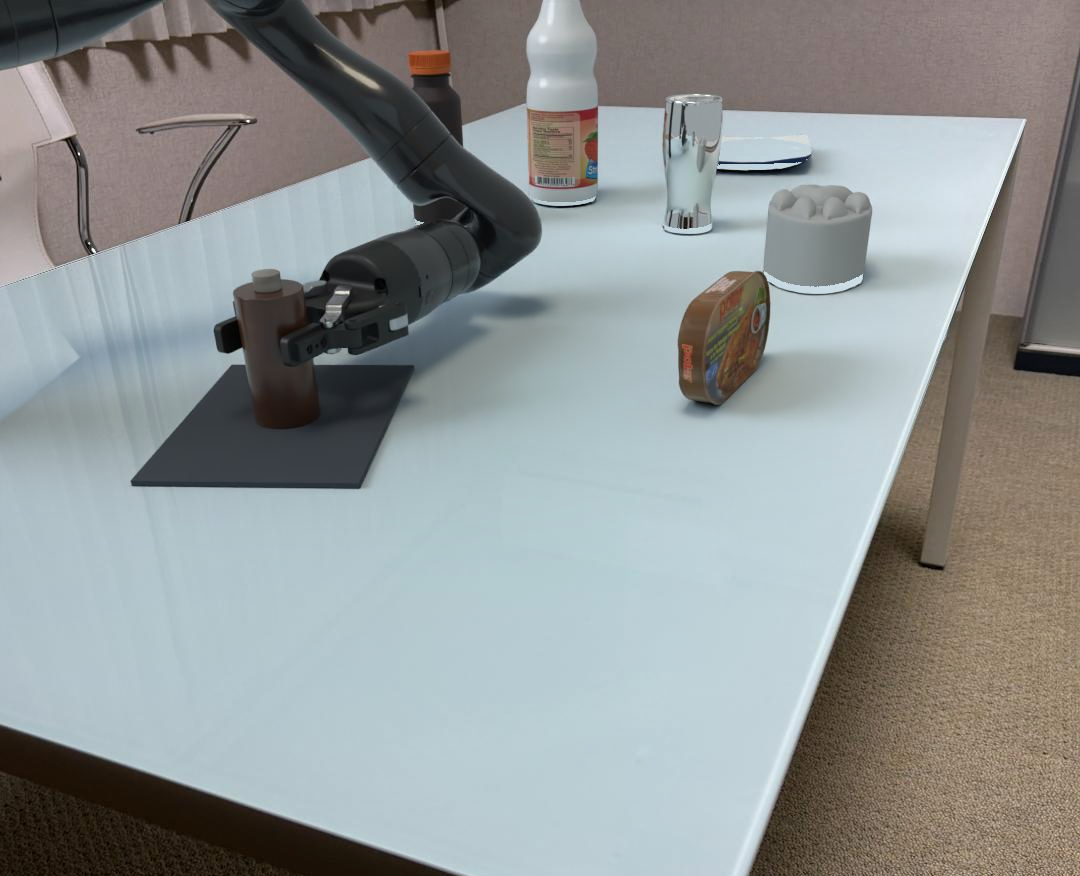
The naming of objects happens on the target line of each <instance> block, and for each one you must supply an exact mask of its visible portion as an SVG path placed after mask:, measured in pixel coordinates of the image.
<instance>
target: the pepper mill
mask: <svg viewBox="0 0 1080 876" xmlns="http://www.w3.org/2000/svg"><path fill="white" fill-rule="evenodd" d="M281 277H282V276H281V271H280V270H278V269H276V268H264V269H258V270H255V271H253V272H252V273H251V280H252V281H250V282H246V283H244V284H241V285H239V286H237V287H236V288H234V289H233V291H232V296H233V297H232V298H233V301H234V303H235V308H236V314H237V320H238V325H239V331H240V337H241V342H242V348H241V349H242V354H243V359H244V365H246V371H247V377H248V382H249V388H250V394H251V400H252V405H253V411H254V417H255V421H256V422H257V424H259V425H260V426H263V427H266V428H271V429H289V428H295V427H300V426H303V425H306V424H309V423H311V422H313V421H315V420H316V419H317V418H318V417H319V416H320V414H321V410H320V403H319V396H318V389H317V382H316V375H315V367H314V365H315V361H314V358H313V359H311V360H309V361H307V362H305V363H303V364H301V365H299V366H297V367H290V366H285V365H284V363H283V359H282V353H281V346H280V341H281V339H282V337H284V336H286V335H288V334H290V333H292V332H294V331H296V330H298V329H301V328H303V327H305V326H307V325H308V317H307V310H306V303H305V296H304V289H303V285H304V284H302V283H301V282H299V281H297V280H293V279H287V278H285V279H284V278H281Z"/></svg>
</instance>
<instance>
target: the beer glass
mask: <svg viewBox="0 0 1080 876" xmlns="http://www.w3.org/2000/svg"><path fill="white" fill-rule="evenodd" d="M664 104H665V105H664V113H663V123H662V136H661V137H662V139H661V140H662V141H661V142H662V143H661V144H662V160H663V168H664V169H663V170H664V176H665V183H666V208H665V214H664V217H663V222H662V225H663V224H664V225H666V226H668V227H672V228H678V229H679V228H680V229H682V228H683V229H689V228H698V227H704V226H707V225H709V224H711V223H713V217H712V196H713V195H712V194H713V188H714V184H715V180H716V174H717V172H718V171H717V166H718V162H719V156H720V151H721V143H722V136H723V123H724V121H723V120H724V119H723V118H724V117H723V116H724V115H723V97H722V96H720V95H716V94H708V93H706V94H705V93H682V94H675V95H674V94H673V95H669V96H666V98H665V103H664Z"/></svg>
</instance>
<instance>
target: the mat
mask: <svg viewBox="0 0 1080 876" xmlns="http://www.w3.org/2000/svg"><path fill="white" fill-rule="evenodd" d="M314 367H315V375H316V382H317V389H318V396H319V403H320V410H321V414H320V416H319V417H318V418H317V419H316V420H315V421H313V422H311V423H309V424H306V425H303V426H300V427H295V428H289V429H271V428H266V427H263V426H260V425H259V424H257V422H256V421H255V417H254V411H253V405H252V400H251V394H250V388H249V382H248V377H247V371H246V365H245V364H231V365H230V366H229V367H228V368H227V369H226V370H225V371H224V373H222V375H221V377H219V379H218V380H216V382H215V383H214V384H213V385H212V387H210V389H209V390H208V391H207V392H206V393H205V394H204V395H203V397H202V398H201V399H200V400H199V401H198V402H197V404H196V405H195V406H194V407H193V408H192V410H191V411H190V412H189V413H188V414H187V415H186V416H185V418H184V419H182V421H181V422H180V423H179V424H178V425H177V427H176V428H175V429H174V430H173V431H172V432H171V434H170V435H169V436H168V437H167V438H166V439H165V440H164V442H163V443H162V444H161V445H160V446H159V447H158V448H157V449H156V450H155V452H154V453H153V454H152V455H151V456H150V457H149V459H148V460H147V461H146V462H145V463H144V465H143V466H142V467H141V468H140V469H139V470H138V471H137V472H136V473H135V475H134V476H133V477H132V478H131V479H130V485H131V486H132V487H133V486H137V487H139V486H140V487H141V486H142V487H143V486H145V487H146V486H147V487H221V488H222V487H231V488H233V487H234V488H235V487H236V488H240V487H243V488H317V489H319V488H320V489H321V488H323V489H325V488H328V489H329V488H330V489H333V488H334V489H336V488H337V489H360V488H361V486H362V484H363V482H364V479H365V477H366V475H367V473H368V471H369V468H370V466H371V464H372V462H373V459H374V457H375V455H376V453H377V451H378V450H379V446H380V444H381V442H382V441H383V438H384V435H386V434H385V433H386V431H387V429H388V427H389V426H390V422H391V421H392V418H393V416H394V414H395V412H396V409H397V408H398V405H399V403H400V400H401V399H402V396H403V395H404V392H405V389H406V387H407V385H408V383H409V381H410V379H411V376H412V374H413V372H414V370H415V365H414V364H314Z"/></svg>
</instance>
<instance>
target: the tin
mask: <svg viewBox="0 0 1080 876" xmlns="http://www.w3.org/2000/svg"><path fill="white" fill-rule="evenodd" d="M771 304H772V303H771V290H770V284H769V283H768V281H767V278H766V276H765V275H764V273H763V271H761V270H754V271H745V270H744V271H742V270H732V271H728V272H727V273H725V274H724V275H723V276H722V277H720V278H719V279H718V280H716V281H715V282H713V283H712V284H711V285H710V286H709V287H707V288H706V289H705V290H704V291H702V292H700V293H699V295H697V296H696V297H694V298H693V299H692V300H691V301H690V302H689V304H688V306H687V307H686V309H685V310H684V311H685V312H684V313H683V316H682V319H681V322H680V327H679V330H678V335H677V355H678V356H677V357H678V358H677V359H678V360H677V365H678V366H677V368H678V387H679V390H680V392H681V394H682V395H683V397H685V398H686V399H687V400H690V401H694V402H701V403H710V404H713V405H715V406H720V405H722V404H724V403H725V402H726V401H727V400H728V399H729V398H730V397H731V395H733V394H734V392H735V391H736V390H738V389H739V387H741V386H742V384H743V383H744V382H745V381H746V380H747V379H748V378H749V377H750V376H751V375H752V374H753V373H754V372H755V371H756V370H757V368H758V367H759V366H760V363H761V361H762V359H763V355H764V352H765V350H766V345H767V342H768V337H769V329H770V321H771Z"/></svg>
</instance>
